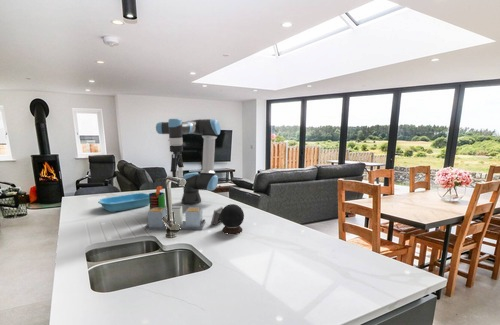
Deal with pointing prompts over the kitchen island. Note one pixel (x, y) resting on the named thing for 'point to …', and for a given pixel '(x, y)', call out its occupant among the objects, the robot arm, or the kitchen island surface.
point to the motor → (157, 198)
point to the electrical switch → (216, 216)
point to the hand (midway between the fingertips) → (177, 180)
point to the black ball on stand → (232, 219)
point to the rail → (191, 223)
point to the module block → (178, 214)
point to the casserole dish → (125, 202)
